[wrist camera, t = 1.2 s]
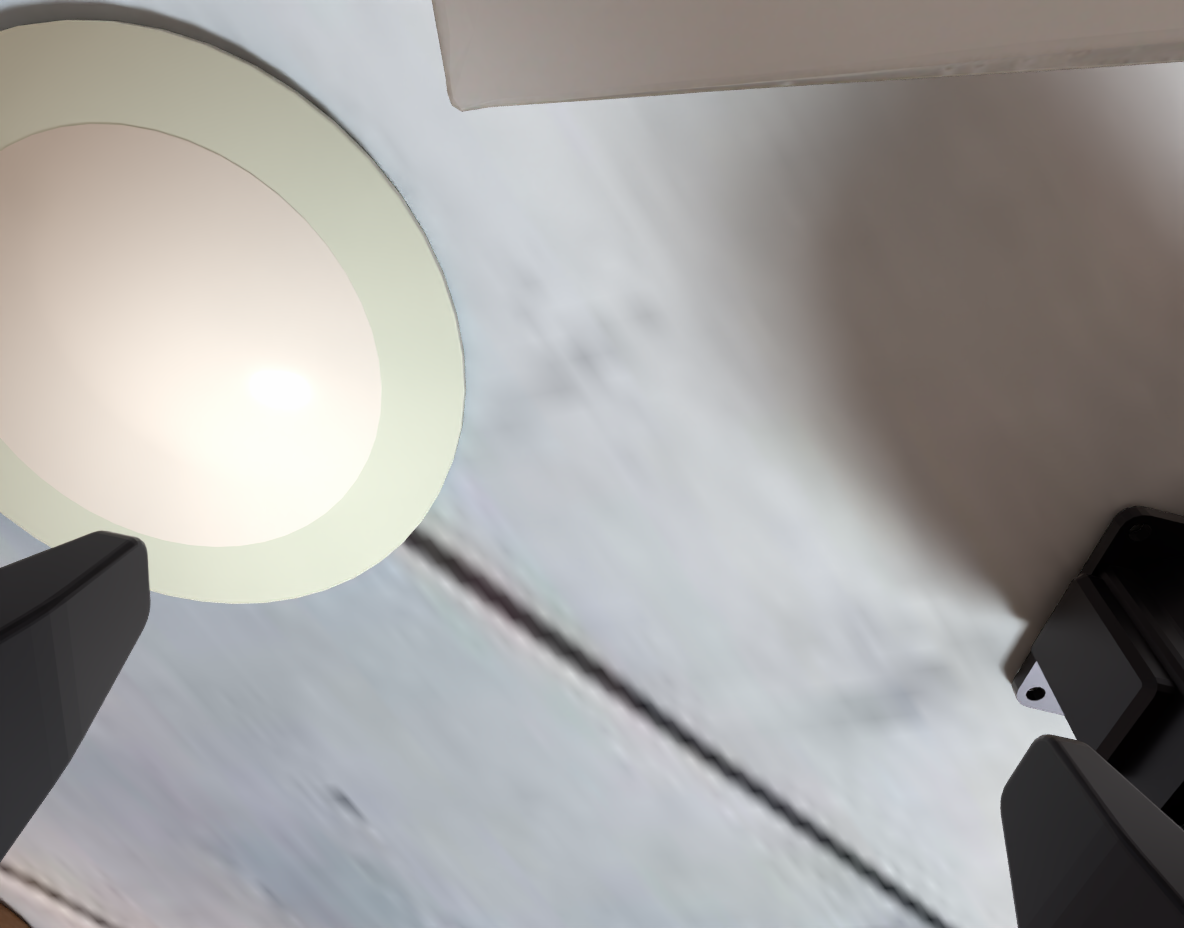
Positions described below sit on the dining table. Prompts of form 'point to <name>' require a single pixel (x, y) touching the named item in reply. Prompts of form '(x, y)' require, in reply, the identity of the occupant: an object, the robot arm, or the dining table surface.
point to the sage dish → (210, 319)
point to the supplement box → (777, 43)
